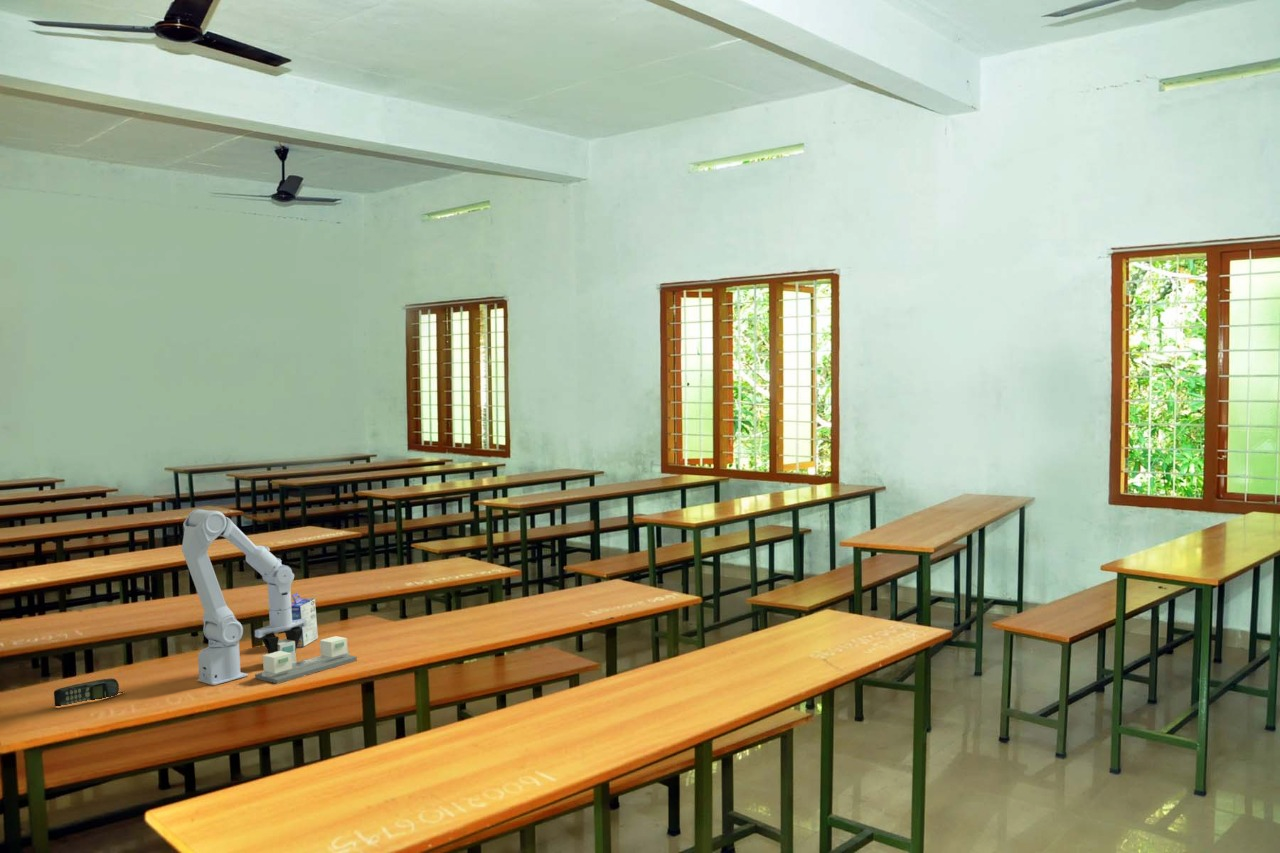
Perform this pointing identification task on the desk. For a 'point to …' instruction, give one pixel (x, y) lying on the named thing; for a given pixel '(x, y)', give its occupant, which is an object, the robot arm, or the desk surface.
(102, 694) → the mobile phone
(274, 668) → the mounted modules
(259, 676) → the din board
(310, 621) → the ink cartridge box
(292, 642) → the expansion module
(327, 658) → the din rail
